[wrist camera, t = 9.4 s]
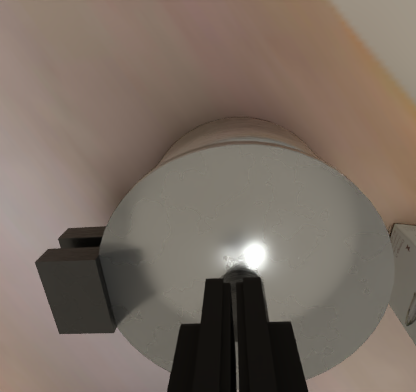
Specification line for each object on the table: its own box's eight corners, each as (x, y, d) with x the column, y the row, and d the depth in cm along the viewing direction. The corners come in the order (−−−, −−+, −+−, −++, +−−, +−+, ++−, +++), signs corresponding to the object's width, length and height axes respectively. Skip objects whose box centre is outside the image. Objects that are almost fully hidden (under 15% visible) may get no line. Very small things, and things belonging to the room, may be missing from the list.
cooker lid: (370, 375, 25) (396, 433, 21) (90, 376, 27) (66, 429, 23) (405, 128, 18) (454, 147, 14) (20, 156, 20) (-31, 179, 16)
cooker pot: (322, 285, 36) (362, 383, 25) (132, 291, 38) (92, 383, 27) (332, 109, 29) (394, 138, 18) (97, 127, 31) (23, 164, 20)
